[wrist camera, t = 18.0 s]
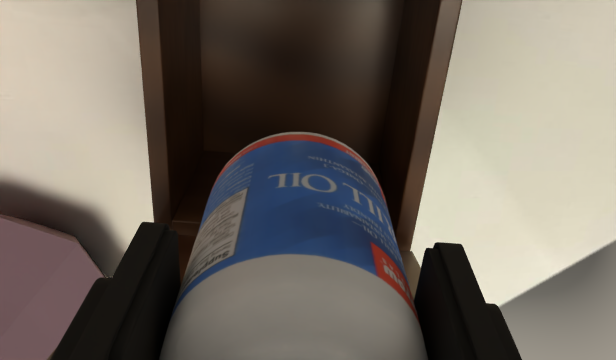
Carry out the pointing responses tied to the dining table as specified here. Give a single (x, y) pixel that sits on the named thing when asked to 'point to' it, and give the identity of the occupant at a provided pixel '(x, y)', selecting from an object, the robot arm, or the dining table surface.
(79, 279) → the flask
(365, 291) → the pill bottle
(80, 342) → the robot arm
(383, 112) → the chest
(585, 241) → the dining table surface
